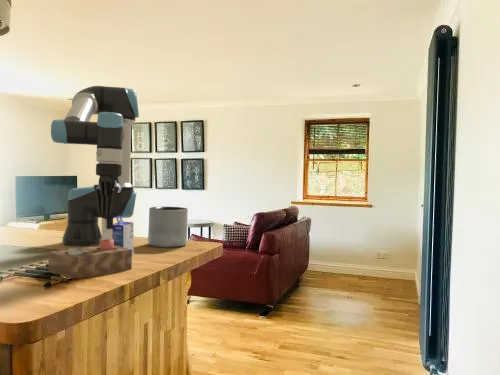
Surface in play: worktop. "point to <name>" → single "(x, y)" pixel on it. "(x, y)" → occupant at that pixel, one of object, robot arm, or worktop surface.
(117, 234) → the ink cartridge box
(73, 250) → the grey plug
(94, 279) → the worktop surface
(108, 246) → the red plug
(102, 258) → the walnut block
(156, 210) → the planter
